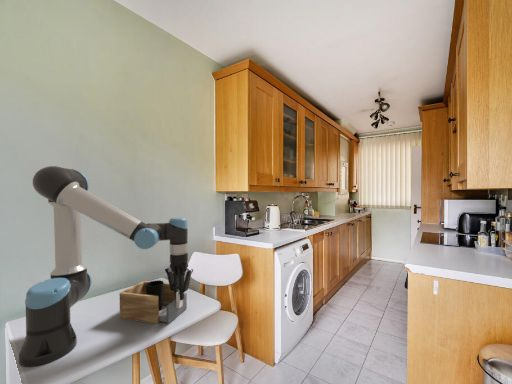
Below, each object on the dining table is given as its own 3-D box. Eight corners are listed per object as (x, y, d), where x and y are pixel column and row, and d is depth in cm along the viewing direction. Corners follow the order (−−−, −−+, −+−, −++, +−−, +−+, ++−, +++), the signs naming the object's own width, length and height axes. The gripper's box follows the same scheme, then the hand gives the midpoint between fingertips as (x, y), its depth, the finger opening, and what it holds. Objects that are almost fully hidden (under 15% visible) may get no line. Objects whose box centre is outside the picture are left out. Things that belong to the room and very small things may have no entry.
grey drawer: (168, 323, 100) (168, 306, 100) (132, 318, 105) (132, 302, 105) (186, 308, 113) (186, 293, 113) (154, 304, 118) (153, 290, 118)
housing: (156, 323, 101) (156, 297, 101) (119, 318, 106) (119, 293, 106) (178, 307, 115) (177, 284, 115) (144, 303, 120) (144, 280, 120)
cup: (157, 314, 105) (157, 287, 105) (142, 313, 107) (141, 286, 107) (167, 306, 113) (167, 280, 113) (152, 305, 114) (152, 279, 114)
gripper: (196, 251, 108) (197, 304, 108) (171, 250, 112) (171, 301, 112) (187, 255, 101) (187, 312, 101) (160, 254, 105) (161, 309, 104)
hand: (179, 306), depth 106 cm, fingers closed
